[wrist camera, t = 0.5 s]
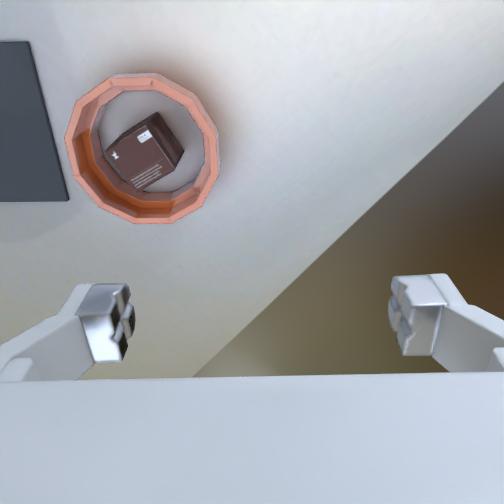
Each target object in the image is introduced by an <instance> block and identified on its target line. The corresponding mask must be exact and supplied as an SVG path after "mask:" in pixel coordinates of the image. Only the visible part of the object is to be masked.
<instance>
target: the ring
mask: <svg viewBox="0 0 504 504" xmlns="http://www.w3.org/2000/svg"><path fill="white" fill-rule="evenodd" d="M124 91H158V92H160V93H161V94H163V95H165V96H167V97H169V98H170V99H172V100H174V101H176V102H178V103H179V104H181V105H183V106H185V107H186V109H187V110H188V112H189V113H190V115H191V116H192V118H193V119H194V121H195V122H196V124H197V125H198V127H199V129H200V130H201V132H202V133H203V141H204V154H205V162H204V164H203V166H202V168H201V170H200V172H199V174H198V175H197V177H196V179H195V180H193V181H192V182H190V183H188V184H187V185H185V186H183V187H181V188H180V189H178V190H176V191H175V192H145V191H143V190H140V191H138V192H135V190H134V189H133V188H132V187H131V185H130V184H129V183H127V182H124V181H122V180H121V179H120V178H119V176H118V175H117V174H116V172H115V171H114V170H113V169H112V167H111V166H110V165H109V164H108V162H107V161H106V160H105V159H104V157H103V153H102V148H101V143H100V138H99V133H98V127H99V124H100V121H101V118H102V116H103V113H104V110H105V108H106V105H107V103H108V102H109V101H111V100H112V99H113V98H115V97H116V96H118V95H119V94H121V93H122V92H124ZM64 139H65V144H66V148H67V152H68V156H69V160H70V164H71V168H72V172H73V176H74V178H75V179H76V181H77V182H78V183H79V184H80V185H81V186H82V188H83V189H84V190H85V191H86V192H87V193H88V195H89V196H90V197H91V198H92V199H93V201H94V202H95V203H96V204H97V205H98V206H99V207H100V208H102V209H104V210H106V211H108V212H110V213H113V214H115V215H117V216H119V217H121V218H123V219H125V220H127V221H130V222H132V223H134V224H171V223H173V222H175V221H177V220H178V219H180V218H182V217H184V216H186V215H187V214H189V213H191V212H193V211H194V210H196V209H198V208H200V207H202V205H203V203H204V201H205V199H206V197H207V196H208V194H209V192H210V190H211V188H212V186H213V185H214V183H215V181H216V179H217V177H218V175H219V170H220V154H219V136H218V129H217V127H216V126H215V124H214V123H213V121H212V119H211V118H210V116H209V115H208V113H207V111H206V110H205V108H204V107H203V105H202V104H201V102H200V100H199V99H198V97H197V96H196V94H194V93H192V92H191V91H189V90H187V89H185V88H183V87H182V86H180V85H178V84H176V83H175V82H173V81H171V80H169V79H168V78H166V77H164V76H162V75H161V74H159V73H130V74H115V75H113V76H111V77H110V78H108V79H107V80H105V81H104V82H102V83H101V84H99V85H98V86H97V87H95V88H94V89H92V90H91V91H90V92H88V93H87V94H85V95H84V96H83V97H81V98H80V99H78V100H77V101H76V104H75V107H74V110H73V113H72V116H71V119H70V122H69V125H68V128H67V131H66V134H65V137H64Z"/></svg>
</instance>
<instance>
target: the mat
mask: <svg viewBox="0 0 504 504" xmlns="http://www.w3.org/2000/svg"><path fill="white" fill-rule="evenodd" d="M68 200H69V197H68V193H67V190H66V186H65V182H64V178H63V174H62V170H61V166H60V162H59V158H58V154H57V150H56V147H55V143H54V139H53V135H52V131H51V127H50V123H49V119H48V115H47V111H46V107H45V103H44V100H43V96H42V92H41V88H40V84H39V80H38V76H37V72H36V68H35V64H34V60H33V57H32V53H31V49H30V45H29V42H0V202H40V201H68Z"/></svg>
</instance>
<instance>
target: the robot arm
mask: <svg viewBox="0 0 504 504" xmlns="http://www.w3.org/2000/svg"><path fill="white" fill-rule="evenodd" d="M391 289H392V291H393V293H394V295H393V296H392V297H391V298H390V299H389V306H388V318H389V322H390V325H391V328H392V330H393V331H395V332H396V333H397V339H396V341H397V343H398V345H399V348H400V350H401V353H402V355H403V356H432V357H433V358H434V359H435V360H437V362H439V363H440V364H441V365H442V366H444V367H445V368H446V369H447V370H448V371H449V372H451V373H409V374H407V373H406V374H358V375H312V376H311V375H309V376H263V377H212V378H162V379H112V380H78V379H79V378H80V377H81V376H82V375H83V374H84V373H86V372H87V371H88V370H89V369H90V368H91V367H92V366H93V365H94V363H110V362H122V361H123V358H124V356H125V353H126V351H127V348H128V343H127V339H129V338H130V337H131V336H132V335H133V332H134V329H135V311H134V306H132V305H131V304H130V303H129V302H128V300H129V298H130V296H131V294H130V290H129V286H128V285H127V284H79V285H76V286H75V287H74V289H73V291H72V292H71V294H70V295H69V297H68V298H67V300H66V301H65V303H64V304H63V306H62V307H61V309H60V310H59V312H58V313H57V315H56V316H50V317H49V318H47V319H45V320H43V321H42V322H40V323H38V324H36V325H35V326H33V327H31V328H29V329H28V330H26V331H24V332H23V333H21V334H19V335H17V336H16V337H14V338H12V339H10V340H9V341H7V342H5V343H3V344H2V345H0V504H504V321H503V320H502V319H500V318H498V317H496V316H494V315H492V314H490V313H488V312H486V311H484V310H482V309H480V308H478V307H476V306H474V305H468V304H467V303H466V301H465V300H464V298H463V297H462V296H461V294H460V293H459V291H458V290H457V288H456V287H455V286H454V284H453V283H452V282H451V280H450V278H449V277H448V276H447V275H446V274H429V275H412V276H394V277H393V280H392V284H391Z"/></svg>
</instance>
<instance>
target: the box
mask: <svg viewBox="0 0 504 504" xmlns="http://www.w3.org/2000/svg"><path fill="white" fill-rule="evenodd" d="M105 153H106V154H107V155H108V156H109V158H110V159H111V160H112V162H113V163H114V164H115V166H116V167H117V168H118V169H119V171H120V172H121V173H122V175H123V176H124V177H125V179H126V180H127V181H128V183H129V184H130V185H131V187H132V188H133V189H134V190H135V192H138V191H140V190H142V189H143V188H145V187H147V186H149V185H150V184H152V183H154V182H155V181H157V180H159V179H161V178H162V177H164V176H166V175H168V174H169V173H171V172H173V171H174V170H175V168H176V166H177V164H178V163H179V161H180V159H181V157H182V155H183V153H184V150H183V148H182V147H181V145H180V144H179V142H178V141H177V140H176V138H175V137H174V135H173V134H172V132H171V131H170V129H169V128H168V126H167V125H166V123H165V122H164V120H163V118H162V117H161V116H160V114H159V113H158V112H156V113H155V114H153V115H151V116H150V117H148V118H147V119H145V120H143V121H142V122H140V123H138V124H137V125H135V126H134V127H132V128H131V129H129V130H128V131H126V132H124V133H123V134H122V135H121V136H120V137H119V138H118V139H117V140H115V141H114V142H113V143H112V144H111V145H110V146H109V147H108V149H106V150H105Z"/></svg>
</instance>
